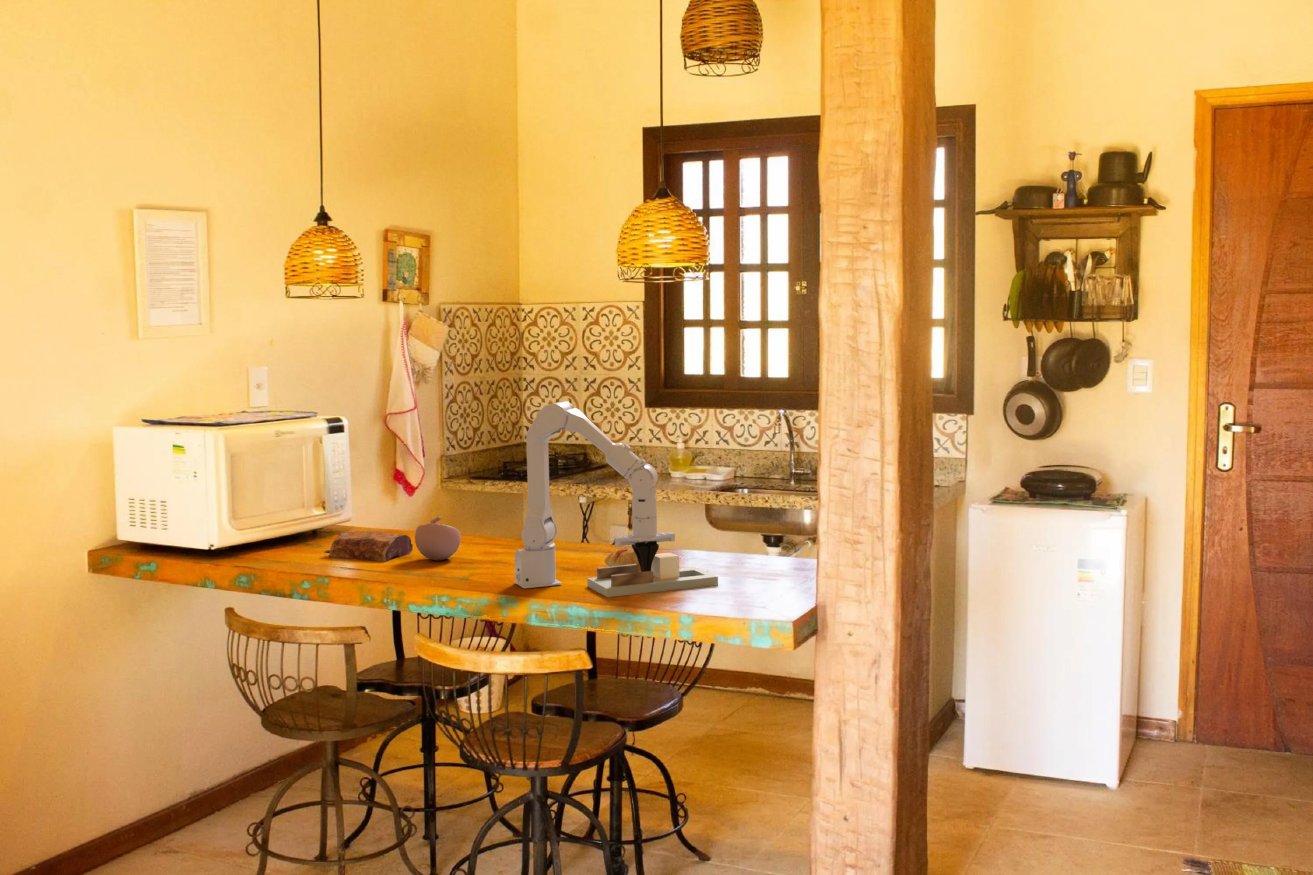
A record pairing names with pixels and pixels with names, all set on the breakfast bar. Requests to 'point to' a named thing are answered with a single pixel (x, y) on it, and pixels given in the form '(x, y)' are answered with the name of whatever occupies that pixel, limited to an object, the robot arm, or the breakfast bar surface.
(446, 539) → the pink apple
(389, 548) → the cured meat
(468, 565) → the breakfast bar surface
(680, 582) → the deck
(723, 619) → the breakfast bar surface
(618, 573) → the parallel rails
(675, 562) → the cube
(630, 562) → the croissant
